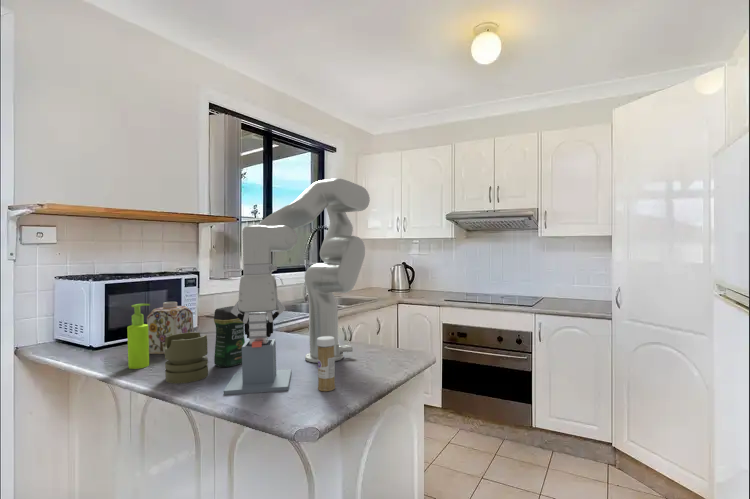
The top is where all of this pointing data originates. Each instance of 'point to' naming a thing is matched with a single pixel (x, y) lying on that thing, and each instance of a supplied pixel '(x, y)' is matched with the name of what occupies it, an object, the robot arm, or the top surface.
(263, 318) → the column
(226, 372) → the top surface
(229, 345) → the coffee jar
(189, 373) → the piston
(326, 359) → the sprinkles bottle
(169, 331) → the decorative jar
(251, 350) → the stand
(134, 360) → the soap dispenser
